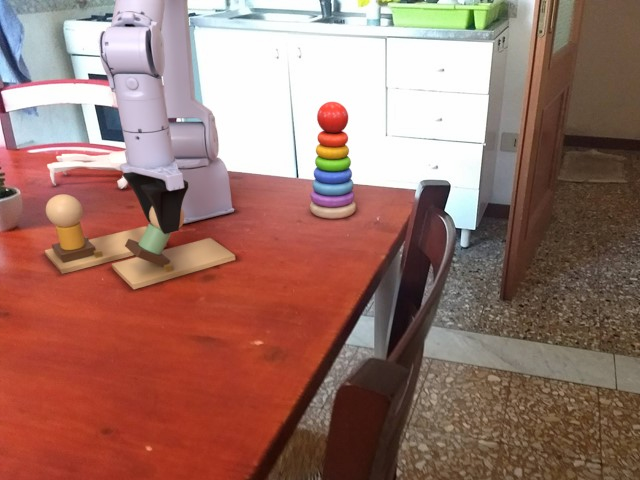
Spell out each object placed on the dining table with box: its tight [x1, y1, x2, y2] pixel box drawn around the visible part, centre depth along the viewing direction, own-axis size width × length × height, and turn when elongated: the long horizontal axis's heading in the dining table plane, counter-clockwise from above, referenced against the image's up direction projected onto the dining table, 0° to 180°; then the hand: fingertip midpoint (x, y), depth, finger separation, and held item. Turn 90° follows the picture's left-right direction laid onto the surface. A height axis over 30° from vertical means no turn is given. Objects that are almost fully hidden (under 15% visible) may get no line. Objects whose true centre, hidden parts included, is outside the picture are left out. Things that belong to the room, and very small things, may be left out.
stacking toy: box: [309, 101, 357, 220], centre depth 106 cm, size 8×8×19 cm
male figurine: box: [46, 150, 129, 190], centre depth 122 cm, size 14×6×25 cm
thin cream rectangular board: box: [111, 237, 236, 290], centre depth 91 cm, size 15×8×2 cm, turn 131°
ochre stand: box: [44, 225, 168, 275], centre depth 94 cm, size 15×8×2 cm, turn 131°
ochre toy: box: [45, 193, 96, 262], centre depth 90 cm, size 9×5×5 cm
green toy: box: [125, 206, 184, 267], centre depth 88 cm, size 9×5×5 cm
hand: (163, 225), depth 88 cm, fingers closed on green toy, 4 cm apart
